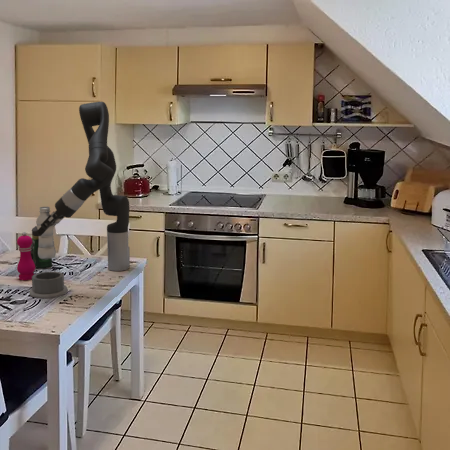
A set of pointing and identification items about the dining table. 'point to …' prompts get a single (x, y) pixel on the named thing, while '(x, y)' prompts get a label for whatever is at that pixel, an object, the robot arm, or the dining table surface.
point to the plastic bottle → (45, 236)
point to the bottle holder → (48, 285)
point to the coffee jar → (37, 261)
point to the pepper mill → (25, 258)
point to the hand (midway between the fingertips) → (41, 232)
